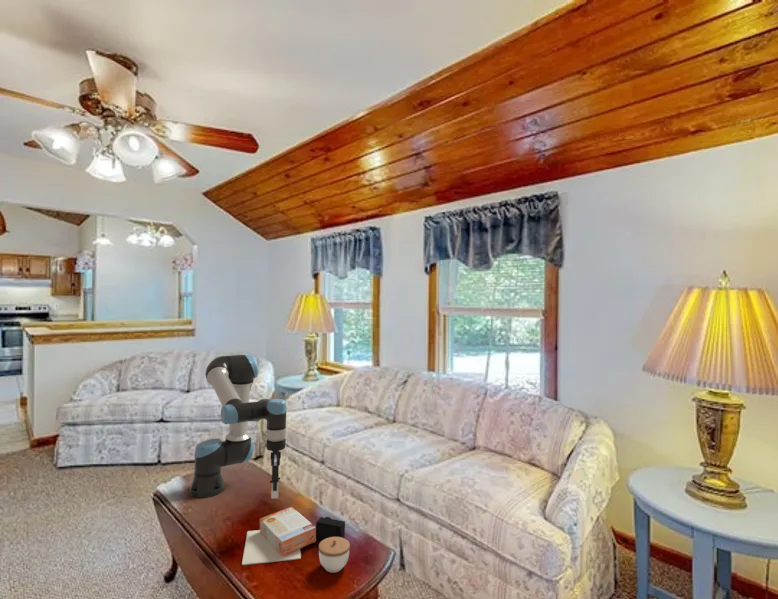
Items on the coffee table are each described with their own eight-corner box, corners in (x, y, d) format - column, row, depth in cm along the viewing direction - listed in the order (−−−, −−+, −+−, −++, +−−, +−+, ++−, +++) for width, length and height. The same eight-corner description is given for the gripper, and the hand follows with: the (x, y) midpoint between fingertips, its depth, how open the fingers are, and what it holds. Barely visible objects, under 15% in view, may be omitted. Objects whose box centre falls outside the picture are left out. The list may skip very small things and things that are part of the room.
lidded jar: (319, 558, 155) (320, 532, 155) (349, 557, 156) (350, 531, 156) (316, 577, 144) (317, 549, 144) (349, 576, 145) (349, 548, 145)
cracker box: (259, 532, 171) (281, 557, 154) (259, 517, 170) (281, 541, 154) (292, 520, 179) (316, 542, 163) (291, 505, 179) (316, 526, 163)
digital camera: (346, 537, 169) (346, 519, 169) (340, 545, 164) (341, 526, 164) (321, 532, 172) (322, 515, 172) (315, 540, 167) (316, 521, 167)
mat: (247, 532, 171) (247, 531, 171) (299, 527, 176) (299, 526, 176) (241, 565, 150) (241, 564, 150) (300, 558, 154) (300, 557, 154)
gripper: (267, 434, 180) (265, 491, 179) (265, 444, 167) (264, 505, 167) (285, 433, 181) (284, 489, 181) (285, 443, 169) (284, 504, 168)
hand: (274, 497), depth 174 cm, fingers closed
